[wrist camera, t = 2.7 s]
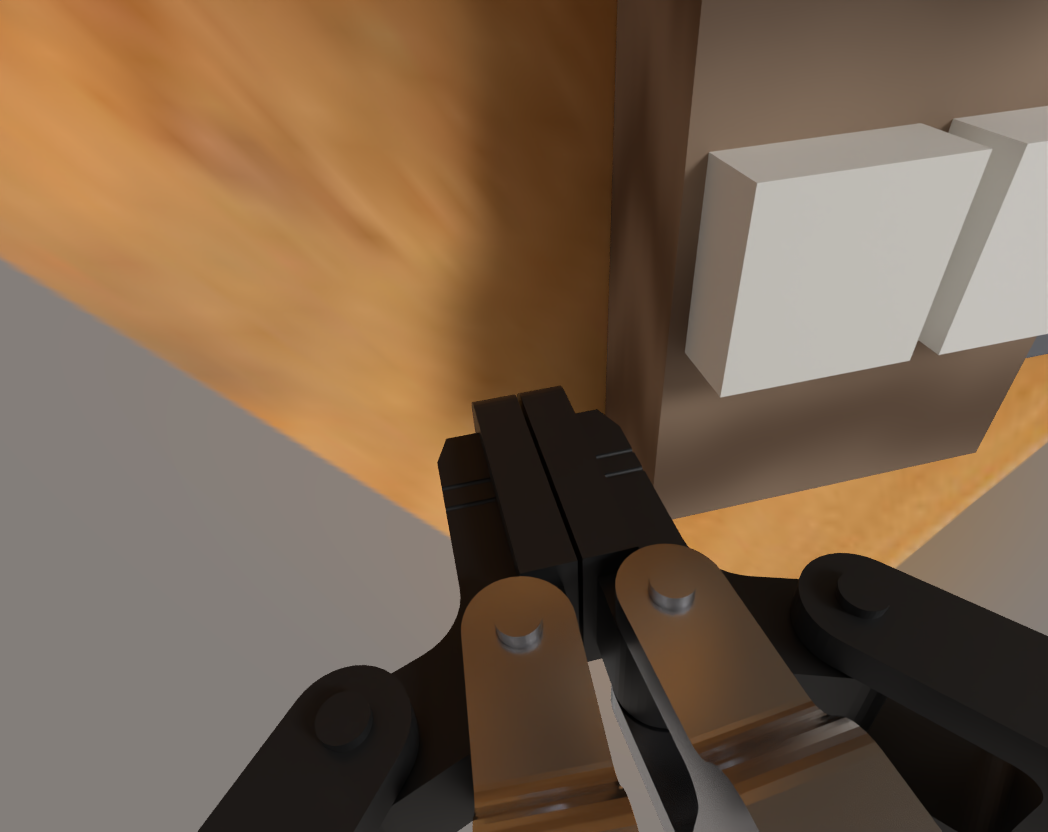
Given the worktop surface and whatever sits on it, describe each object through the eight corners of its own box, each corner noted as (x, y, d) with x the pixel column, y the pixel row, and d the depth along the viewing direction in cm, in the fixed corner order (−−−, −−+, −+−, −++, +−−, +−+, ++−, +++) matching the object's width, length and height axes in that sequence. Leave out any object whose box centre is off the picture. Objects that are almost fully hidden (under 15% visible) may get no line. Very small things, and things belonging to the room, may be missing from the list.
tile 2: (952, 118, 14) (1027, 143, 13) (1141, 93, 15) (1234, 113, 13) (884, 316, 17) (938, 354, 16) (1043, 286, 18) (1109, 321, 16)
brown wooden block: (625, -251, 13) (733, -314, 9) (1134, -273, 14) (1388, -331, 11) (604, 436, 24) (649, 524, 20) (889, 379, 26) (975, 452, 22)
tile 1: (708, 152, 13) (757, 182, 12) (921, 123, 14) (992, 149, 12) (684, 352, 16) (720, 397, 15) (858, 320, 17) (909, 360, 16)
